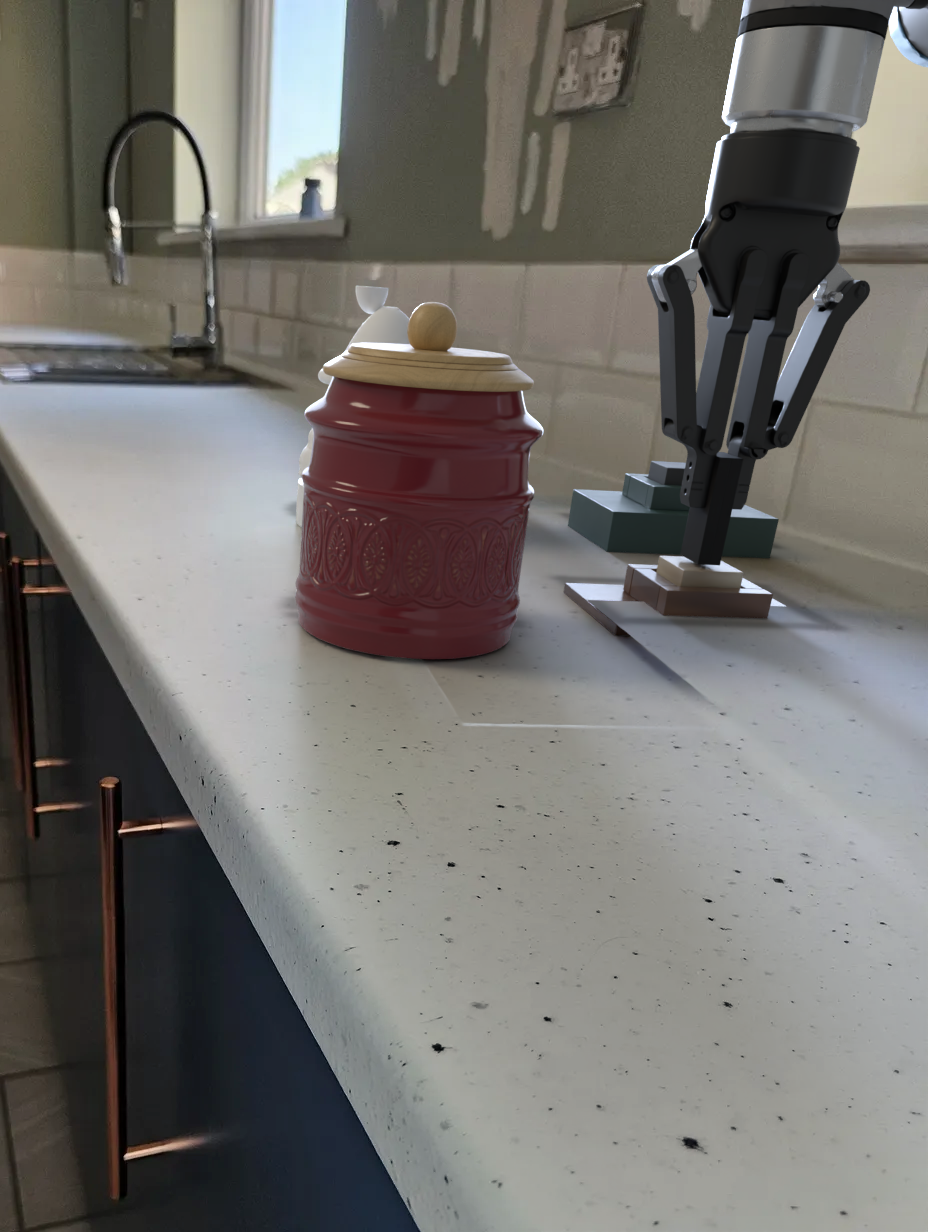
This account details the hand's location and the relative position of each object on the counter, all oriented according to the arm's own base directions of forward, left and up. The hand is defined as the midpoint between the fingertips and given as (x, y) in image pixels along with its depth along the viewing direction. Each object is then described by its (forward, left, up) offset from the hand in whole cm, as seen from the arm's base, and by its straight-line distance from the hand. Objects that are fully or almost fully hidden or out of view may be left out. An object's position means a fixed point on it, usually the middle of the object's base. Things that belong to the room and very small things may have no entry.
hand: (699, 559), depth 72 cm
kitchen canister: (+20, +5, -4) cm, 21 cm away
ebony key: (-8, -23, +1) cm, 25 cm away
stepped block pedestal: (0, 0, -4) cm, 4 cm away
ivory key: (0, 0, -2) cm, 2 cm away
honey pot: (+17, -25, -4) cm, 30 cm away
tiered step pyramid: (-8, -23, -4) cm, 25 cm away
